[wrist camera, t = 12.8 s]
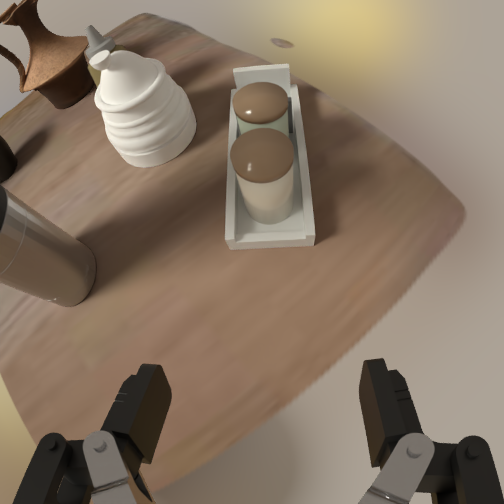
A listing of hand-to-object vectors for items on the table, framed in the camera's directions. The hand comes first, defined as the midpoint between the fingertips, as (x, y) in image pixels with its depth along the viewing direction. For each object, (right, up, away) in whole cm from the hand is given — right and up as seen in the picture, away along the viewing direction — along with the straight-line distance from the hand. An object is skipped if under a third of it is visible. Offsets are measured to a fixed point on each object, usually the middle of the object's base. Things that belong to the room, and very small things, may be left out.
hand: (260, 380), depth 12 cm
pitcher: (-39, +40, +43) cm, 71 cm away
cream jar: (+2, +11, +25) cm, 28 cm away
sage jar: (+2, +17, +28) cm, 33 cm away
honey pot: (-15, +23, +33) cm, 43 cm away
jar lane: (+2, +17, +29) cm, 34 cm away
